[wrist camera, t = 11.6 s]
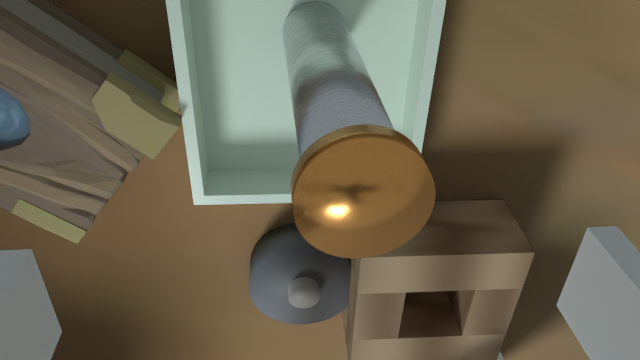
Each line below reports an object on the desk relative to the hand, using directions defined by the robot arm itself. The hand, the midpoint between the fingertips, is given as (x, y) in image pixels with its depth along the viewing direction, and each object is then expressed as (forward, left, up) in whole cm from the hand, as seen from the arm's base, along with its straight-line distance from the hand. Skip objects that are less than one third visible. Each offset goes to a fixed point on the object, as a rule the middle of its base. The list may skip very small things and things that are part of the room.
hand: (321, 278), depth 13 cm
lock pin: (+1, 0, -16) cm, 16 cm away
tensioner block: (+8, -16, -17) cm, 24 cm away
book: (-15, -3, -18) cm, 23 cm away
